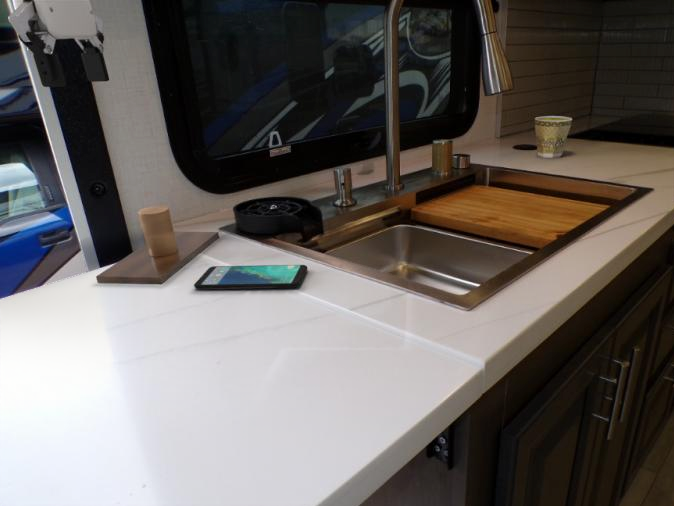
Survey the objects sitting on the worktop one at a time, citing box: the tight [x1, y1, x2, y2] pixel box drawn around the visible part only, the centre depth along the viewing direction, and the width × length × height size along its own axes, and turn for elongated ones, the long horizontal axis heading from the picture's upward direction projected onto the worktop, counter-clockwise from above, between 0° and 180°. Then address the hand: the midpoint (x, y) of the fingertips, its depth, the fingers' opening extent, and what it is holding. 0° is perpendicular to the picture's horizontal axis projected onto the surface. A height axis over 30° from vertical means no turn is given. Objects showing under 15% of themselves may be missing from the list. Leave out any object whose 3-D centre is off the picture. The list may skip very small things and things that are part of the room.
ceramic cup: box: [534, 115, 573, 159], centre depth 148 cm, size 13×10×10 cm
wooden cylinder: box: [137, 205, 178, 257], centre depth 83 cm, size 4×4×7 cm
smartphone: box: [193, 264, 308, 290], centre depth 76 cm, size 7×1×15 cm
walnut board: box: [95, 231, 220, 285], centre depth 85 cm, size 10×20×1 cm, turn 174°
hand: (78, 83), depth 76 cm, fingers open, 9 cm apart
